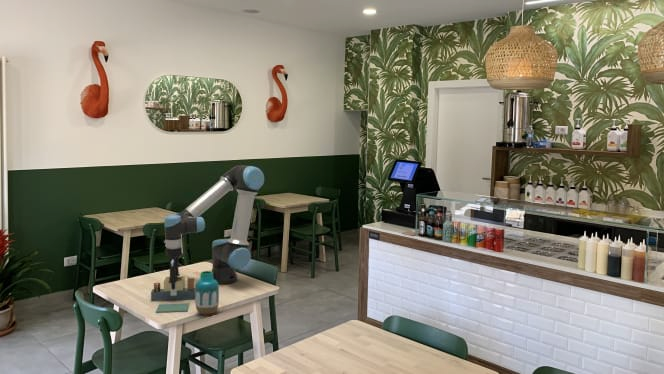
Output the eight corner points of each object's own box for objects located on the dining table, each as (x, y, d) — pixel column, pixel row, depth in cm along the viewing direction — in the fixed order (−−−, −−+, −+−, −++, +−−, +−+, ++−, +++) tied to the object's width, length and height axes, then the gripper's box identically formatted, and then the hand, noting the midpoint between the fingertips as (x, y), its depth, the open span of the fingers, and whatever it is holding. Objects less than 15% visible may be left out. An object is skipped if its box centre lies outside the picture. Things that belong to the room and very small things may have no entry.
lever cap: (185, 284, 265) (184, 274, 264) (183, 290, 257) (183, 279, 256) (166, 285, 263) (165, 275, 263) (163, 291, 255) (163, 280, 254)
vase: (190, 313, 240) (189, 272, 238) (207, 307, 249) (207, 267, 247) (206, 319, 235) (206, 277, 232) (223, 312, 243) (223, 271, 241)
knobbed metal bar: (196, 296, 265) (196, 276, 264) (195, 299, 260) (195, 279, 259) (152, 298, 261) (152, 278, 260) (151, 301, 256) (150, 281, 255)
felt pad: (189, 304, 253) (189, 303, 253) (187, 311, 243) (187, 310, 243) (158, 305, 251) (158, 304, 250) (155, 313, 241) (155, 311, 241)
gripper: (168, 242, 267) (169, 285, 270) (162, 252, 246) (163, 299, 249) (183, 241, 268) (184, 285, 271) (179, 252, 248) (180, 299, 250)
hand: (174, 292), depth 260 cm, fingers closed on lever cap, 8 cm apart
